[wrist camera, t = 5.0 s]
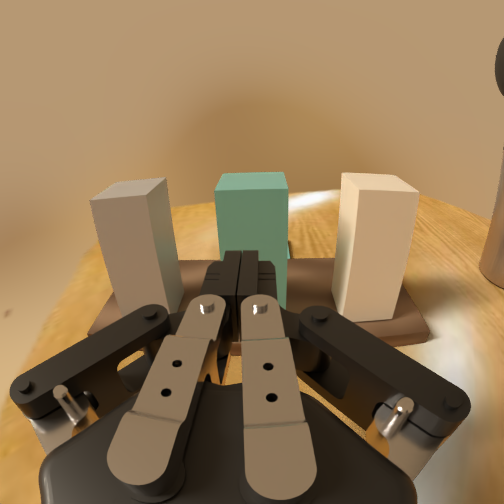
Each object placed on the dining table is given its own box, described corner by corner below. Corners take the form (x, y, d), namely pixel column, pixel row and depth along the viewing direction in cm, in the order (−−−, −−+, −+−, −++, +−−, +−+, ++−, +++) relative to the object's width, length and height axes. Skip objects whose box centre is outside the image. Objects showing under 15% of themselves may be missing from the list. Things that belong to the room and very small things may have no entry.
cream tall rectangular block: (391, 318, 25) (419, 192, 20) (341, 322, 25) (359, 189, 20) (376, 288, 30) (394, 175, 24) (331, 290, 30) (341, 172, 24)
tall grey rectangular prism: (172, 324, 26) (146, 194, 20) (124, 321, 26) (89, 200, 21) (184, 292, 31) (166, 177, 25) (140, 291, 31) (116, 182, 25)
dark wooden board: (425, 342, 24) (430, 330, 23) (92, 344, 26) (87, 333, 25) (382, 266, 36) (384, 256, 36) (136, 270, 38) (134, 260, 37)
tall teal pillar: (285, 325, 26) (288, 188, 20) (227, 325, 26) (214, 190, 20) (282, 291, 30) (283, 171, 24) (232, 292, 30) (223, 173, 25)
